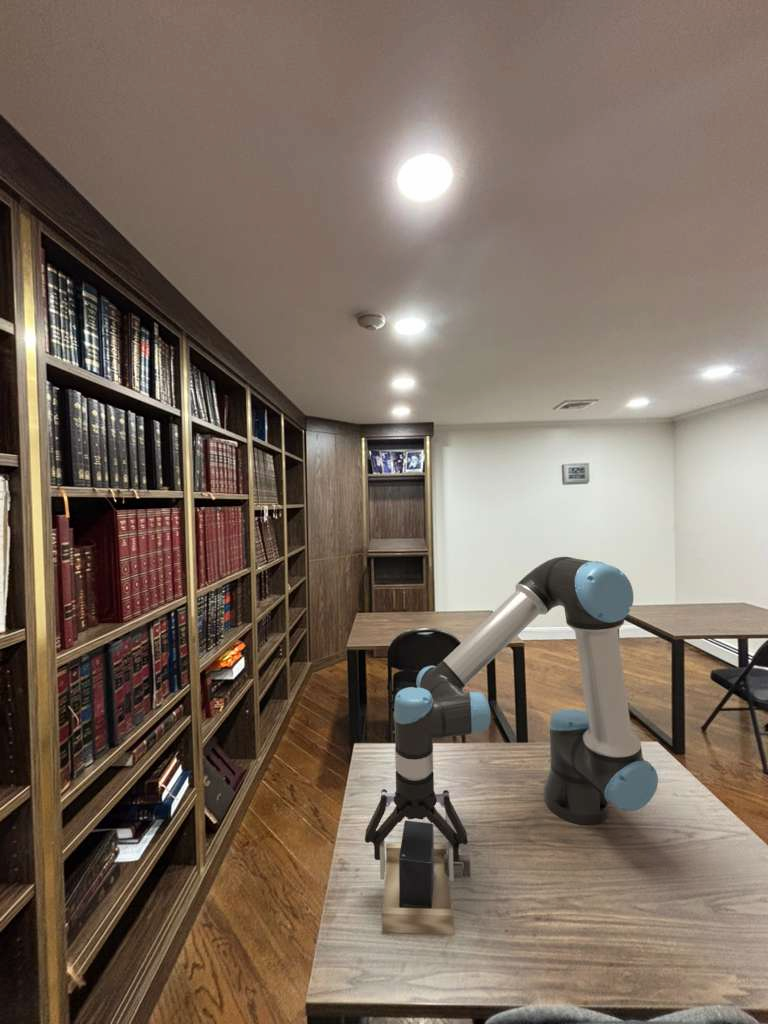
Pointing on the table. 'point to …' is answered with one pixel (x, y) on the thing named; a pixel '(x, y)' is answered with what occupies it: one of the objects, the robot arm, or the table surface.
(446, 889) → the cradle
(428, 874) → the small box
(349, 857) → the table surface
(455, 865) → the lock bolt
